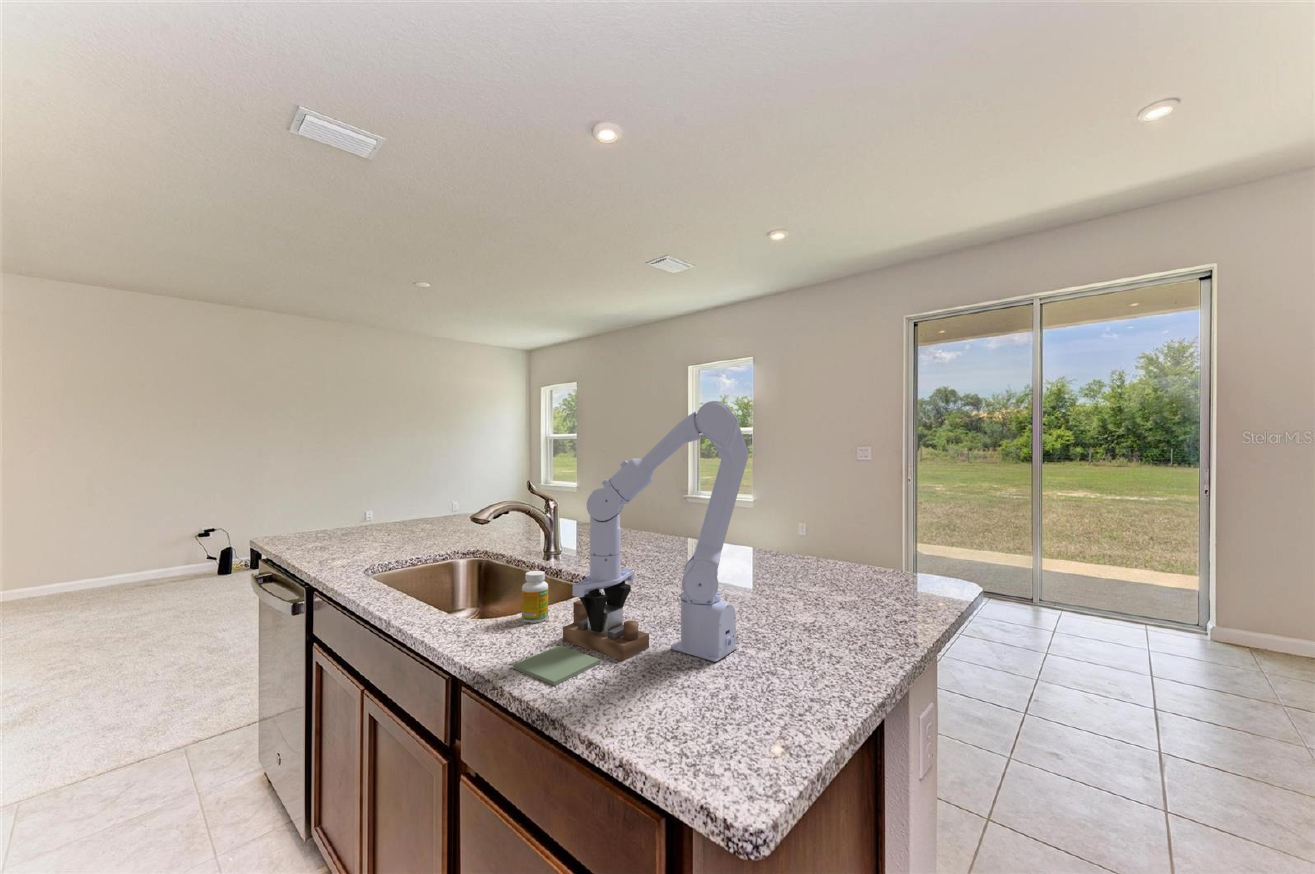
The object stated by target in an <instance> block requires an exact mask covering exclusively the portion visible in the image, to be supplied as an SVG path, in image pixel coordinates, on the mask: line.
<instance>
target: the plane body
mask: <svg viewBox="0 0 1315 874" xmlns="http://www.w3.org/2000/svg"><path fill="white" fill-rule="evenodd" d="M572 606H573V608H572V609H573V614H572V615H573V619H572V620H573V621H572V623H570V624H566V625H564V626H562V641H563V642H566V643H570V644H573V645H576V646H577V647H580V648H581V647H582V648H584V649H588V650H589V651H593V652H596V653H599V654H602V655H604V656H607V657H611V658H614V659H616V660H620V661H623V662H624V661H626V660H628V659H630V658H632V657H633V656H636V655H638V654H640V653H641V652H644V651H646V650H647V649H650V633H648V632H644V631H641V630H639V622H638V621H636V620H626V621H623V625H621V626H619V627H617V628H614V629H612V630H610V631H608V637H607V636H604V635H601V634H598V633H594V632H591V631H588V615H587V612H586V610H585V607H584V605H583V603H582V601H581V600H580V599H579V600H576V601H574V602H573V605H572Z"/></svg>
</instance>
